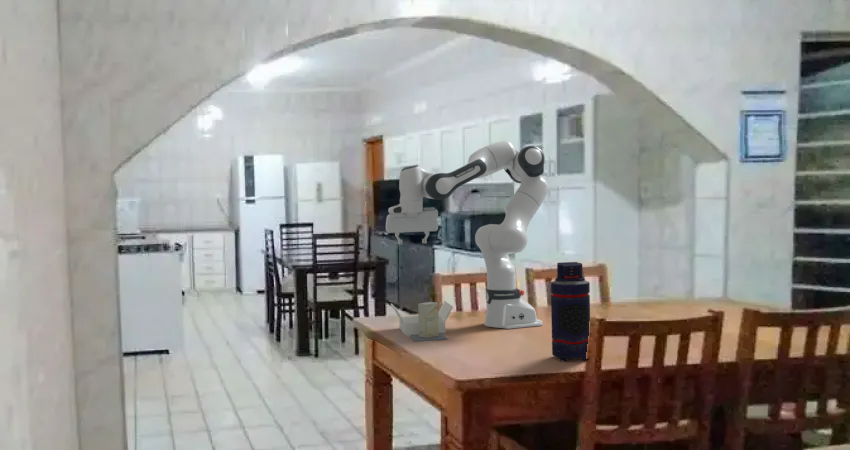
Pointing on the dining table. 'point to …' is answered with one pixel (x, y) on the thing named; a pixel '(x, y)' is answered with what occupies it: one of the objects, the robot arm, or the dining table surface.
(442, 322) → the carton
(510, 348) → the dining table surface
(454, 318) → the dining table surface
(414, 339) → the mat
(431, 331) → the skincare box
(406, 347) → the dining table surface
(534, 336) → the dining table surface
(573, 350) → the dark blue bottle
